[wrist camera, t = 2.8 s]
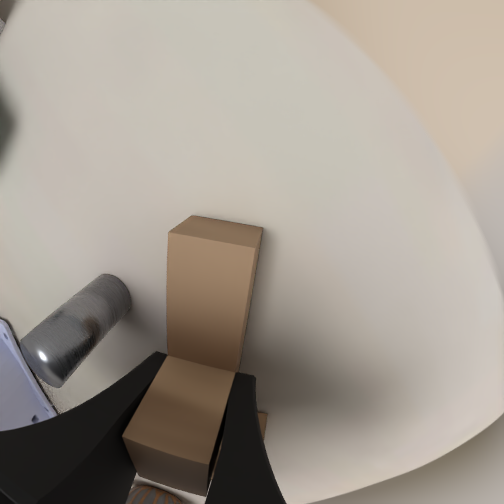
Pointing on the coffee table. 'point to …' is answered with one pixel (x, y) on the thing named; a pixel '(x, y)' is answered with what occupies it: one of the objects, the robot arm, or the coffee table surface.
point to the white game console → (1, 25)
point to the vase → (150, 496)
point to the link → (196, 354)
